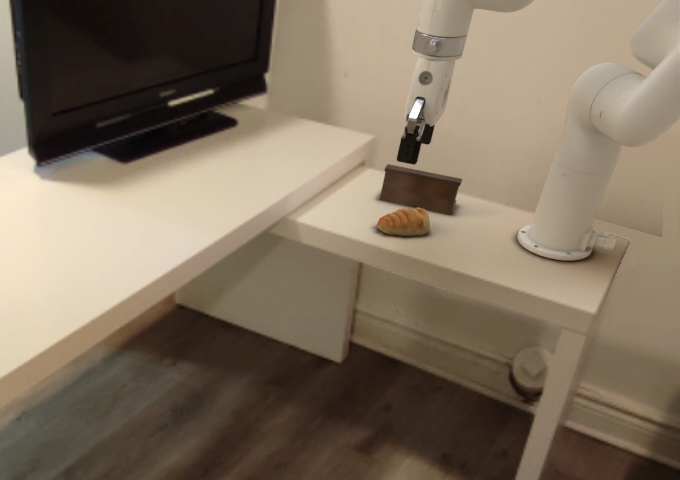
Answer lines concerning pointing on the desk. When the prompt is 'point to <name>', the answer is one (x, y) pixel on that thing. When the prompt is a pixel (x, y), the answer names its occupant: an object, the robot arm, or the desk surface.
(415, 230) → the pastry
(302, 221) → the desk surface
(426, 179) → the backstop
